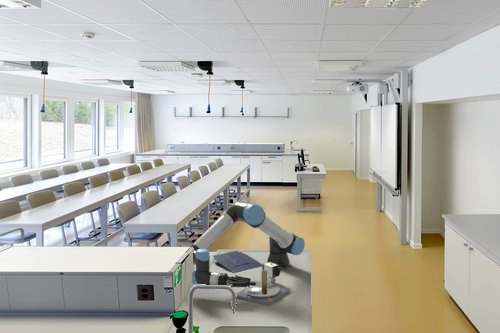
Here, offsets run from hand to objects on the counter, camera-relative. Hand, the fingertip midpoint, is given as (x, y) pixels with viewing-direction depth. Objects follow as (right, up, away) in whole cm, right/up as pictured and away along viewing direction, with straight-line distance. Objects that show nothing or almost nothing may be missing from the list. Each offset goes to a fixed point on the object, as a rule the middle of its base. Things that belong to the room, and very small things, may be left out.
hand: (262, 284), depth 229 cm
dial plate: (0, -8, +10) cm, 13 cm away
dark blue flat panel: (-16, -4, +66) cm, 67 cm away
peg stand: (0, -7, +10) cm, 12 cm away
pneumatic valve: (+7, -7, +29) cm, 30 cm away
